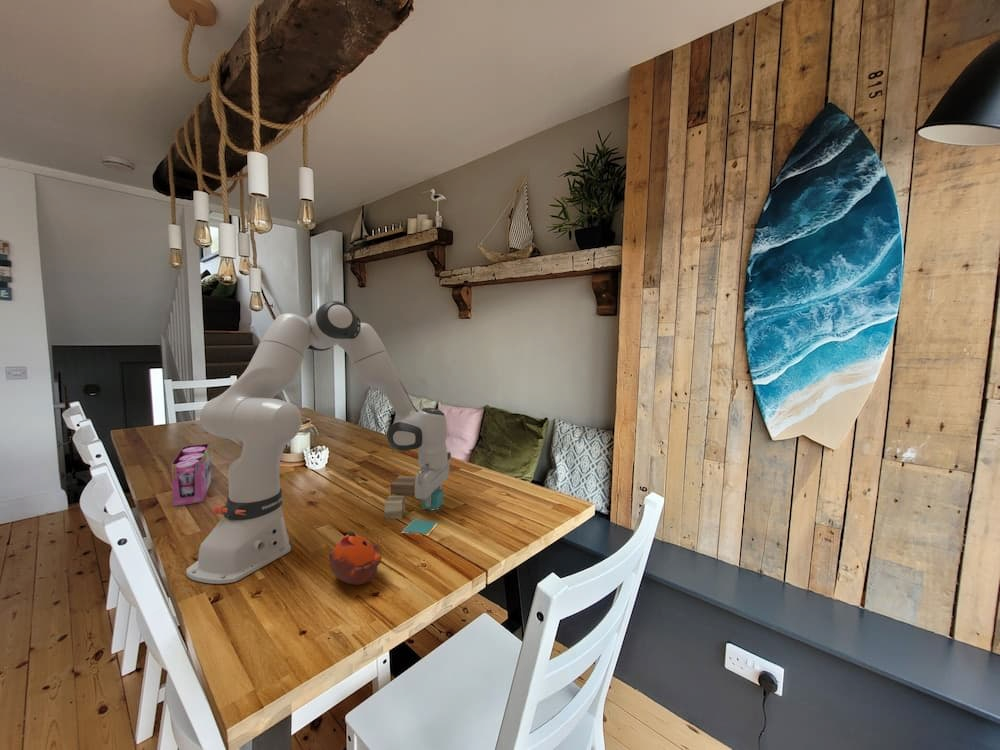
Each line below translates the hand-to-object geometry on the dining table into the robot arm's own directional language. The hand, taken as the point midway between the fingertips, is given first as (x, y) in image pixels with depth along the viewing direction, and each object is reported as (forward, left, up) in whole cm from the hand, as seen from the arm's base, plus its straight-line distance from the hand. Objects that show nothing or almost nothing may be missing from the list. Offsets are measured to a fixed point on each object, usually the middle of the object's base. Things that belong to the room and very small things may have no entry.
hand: (432, 501), depth 131 cm
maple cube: (-8, +9, -2) cm, 12 cm away
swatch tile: (-14, -2, -2) cm, 14 cm away
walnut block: (+10, +14, -2) cm, 17 cm away
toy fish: (-40, +2, -2) cm, 40 cm away
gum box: (-10, +82, -2) cm, 83 cm away
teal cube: (0, 0, -2) cm, 2 cm away
